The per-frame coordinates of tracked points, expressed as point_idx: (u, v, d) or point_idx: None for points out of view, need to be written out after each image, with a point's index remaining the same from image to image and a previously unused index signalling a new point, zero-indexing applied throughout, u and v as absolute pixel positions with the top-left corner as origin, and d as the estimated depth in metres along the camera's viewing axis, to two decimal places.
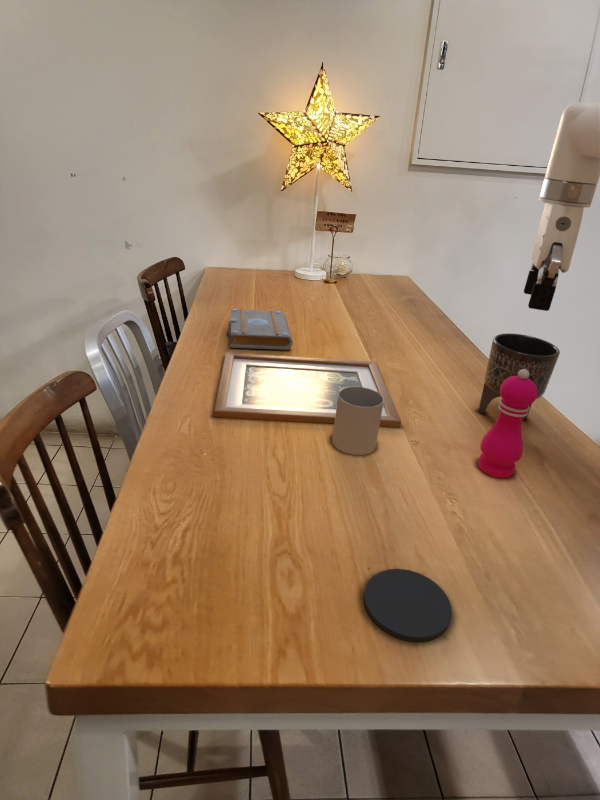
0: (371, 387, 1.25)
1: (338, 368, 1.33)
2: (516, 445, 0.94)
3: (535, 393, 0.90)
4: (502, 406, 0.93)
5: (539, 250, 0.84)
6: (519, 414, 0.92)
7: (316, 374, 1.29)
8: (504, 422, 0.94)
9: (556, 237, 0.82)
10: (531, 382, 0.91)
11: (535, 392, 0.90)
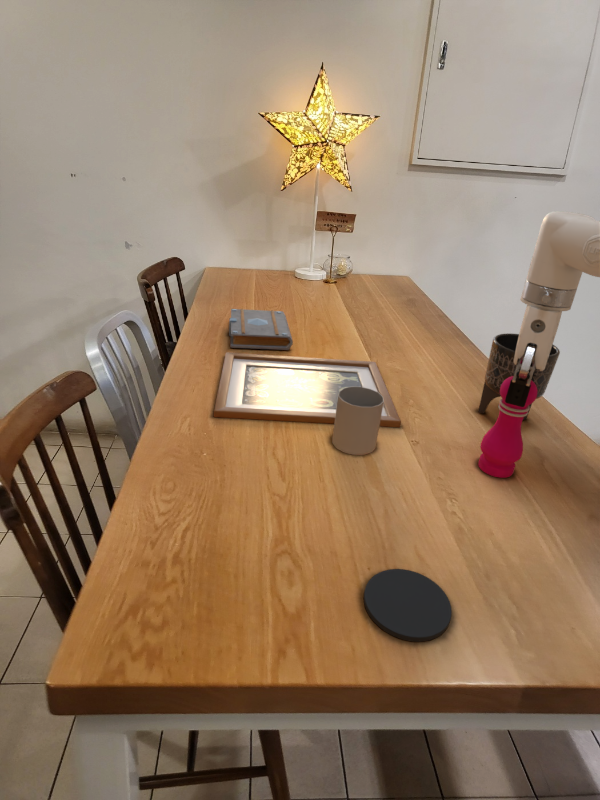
0: (371, 387, 1.25)
1: (338, 368, 1.33)
2: (516, 445, 0.94)
3: (535, 393, 0.90)
4: (502, 406, 0.93)
5: (516, 348, 0.86)
6: (519, 414, 0.92)
7: (316, 374, 1.29)
8: (504, 422, 0.94)
9: (531, 338, 0.84)
10: (531, 382, 0.91)
11: (535, 392, 0.90)
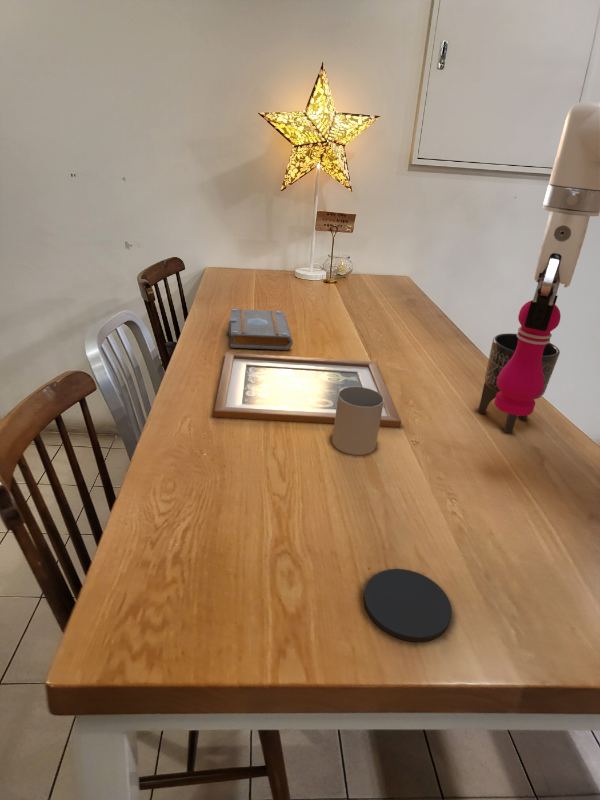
0: (371, 387, 1.25)
1: (338, 368, 1.33)
2: (537, 378, 0.85)
3: (558, 316, 0.81)
4: (521, 333, 0.84)
5: (537, 262, 0.77)
6: (540, 341, 0.83)
7: (316, 374, 1.29)
8: (523, 351, 0.85)
9: (554, 248, 0.75)
10: None
11: (558, 315, 0.81)
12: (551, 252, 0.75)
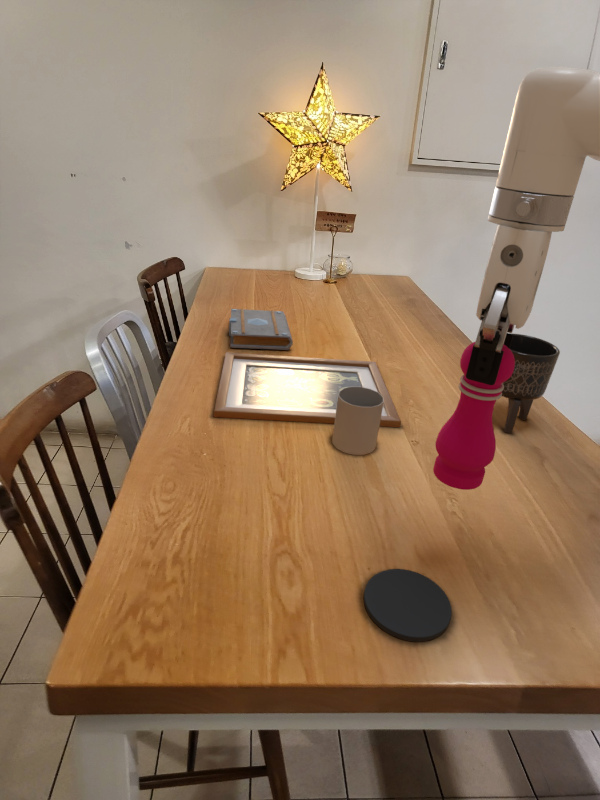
0: (371, 387, 1.25)
1: (338, 368, 1.33)
2: (485, 443, 0.64)
3: (511, 365, 0.60)
4: (463, 385, 0.63)
5: None
6: (488, 396, 0.62)
7: (316, 374, 1.29)
8: (467, 408, 0.64)
9: (501, 275, 0.54)
10: (505, 348, 0.61)
11: (511, 363, 0.60)
12: (497, 281, 0.54)
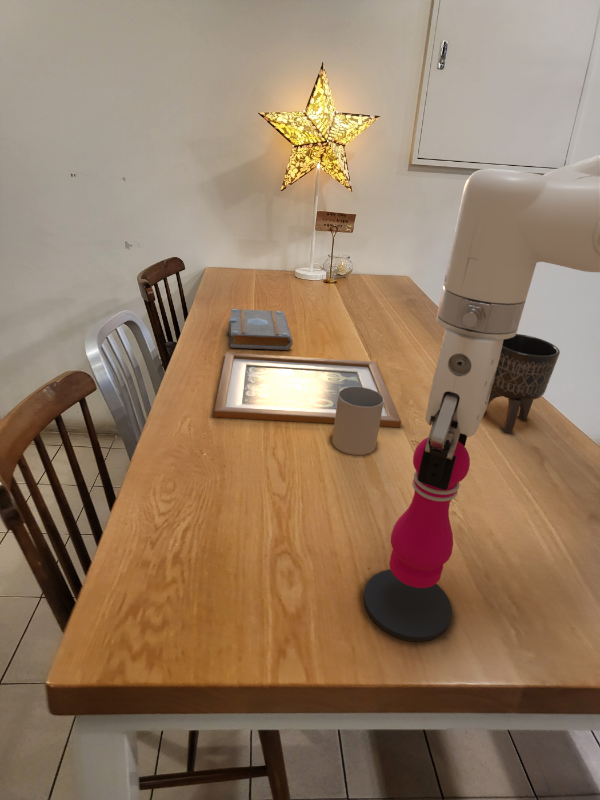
0: (371, 387, 1.25)
1: (338, 368, 1.33)
2: (440, 543, 0.60)
3: (465, 466, 0.57)
4: (416, 483, 0.59)
5: None
6: (441, 497, 0.58)
7: (316, 374, 1.29)
8: (421, 507, 0.60)
9: (449, 384, 0.50)
10: (459, 448, 0.57)
11: (465, 464, 0.57)
12: (445, 389, 0.50)
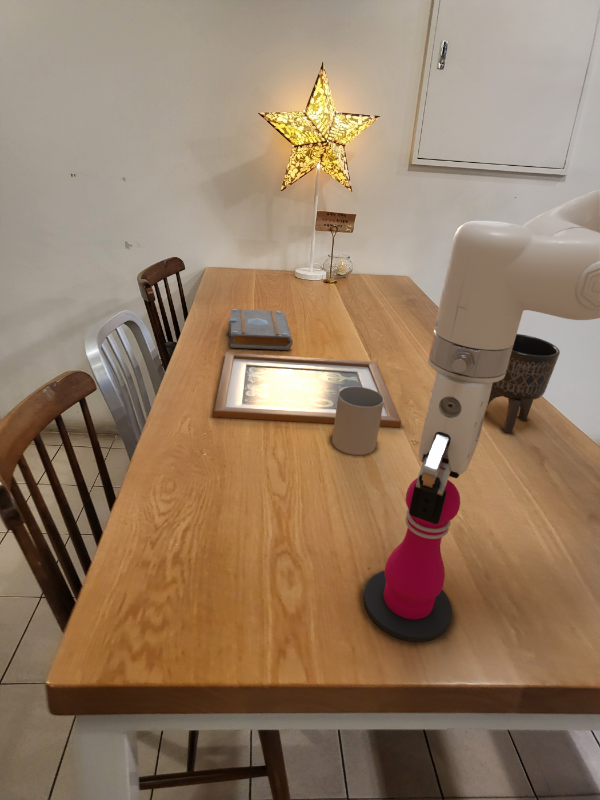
0: (371, 387, 1.25)
1: (338, 368, 1.33)
2: (432, 577, 0.63)
3: (455, 506, 0.59)
4: (409, 521, 0.62)
5: None
6: (433, 535, 0.60)
7: (316, 374, 1.29)
8: (413, 543, 0.62)
9: (441, 425, 0.52)
10: (450, 488, 0.59)
11: (455, 504, 0.59)
12: (436, 430, 0.52)
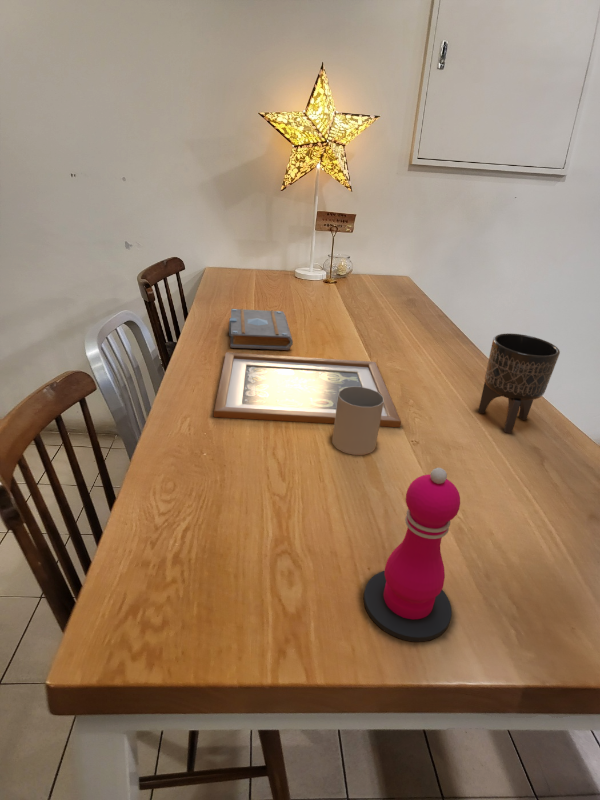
0: (371, 387, 1.25)
1: (338, 368, 1.33)
2: (432, 577, 0.63)
3: (455, 506, 0.59)
4: (409, 521, 0.62)
5: None
6: (433, 535, 0.60)
7: (316, 374, 1.29)
8: (413, 543, 0.62)
9: None
10: (450, 488, 0.59)
11: (455, 504, 0.59)
12: None
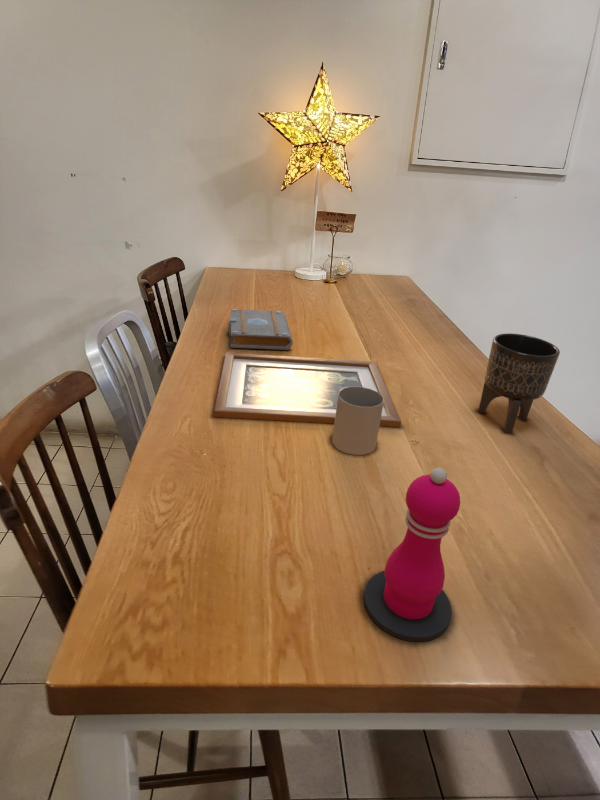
0: (371, 387, 1.25)
1: (338, 368, 1.33)
2: (432, 577, 0.63)
3: (455, 506, 0.59)
4: (409, 521, 0.62)
5: None
6: (433, 535, 0.60)
7: (316, 374, 1.29)
8: (413, 543, 0.62)
9: None
10: (450, 488, 0.59)
11: (455, 504, 0.59)
12: None
